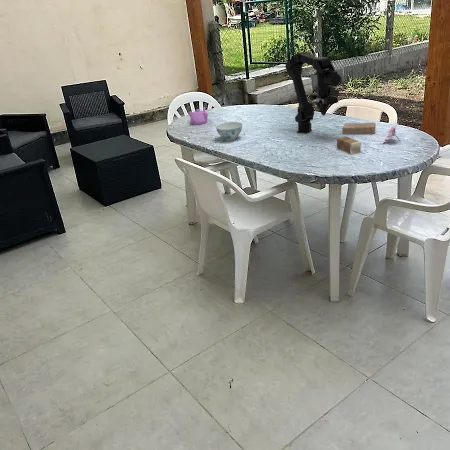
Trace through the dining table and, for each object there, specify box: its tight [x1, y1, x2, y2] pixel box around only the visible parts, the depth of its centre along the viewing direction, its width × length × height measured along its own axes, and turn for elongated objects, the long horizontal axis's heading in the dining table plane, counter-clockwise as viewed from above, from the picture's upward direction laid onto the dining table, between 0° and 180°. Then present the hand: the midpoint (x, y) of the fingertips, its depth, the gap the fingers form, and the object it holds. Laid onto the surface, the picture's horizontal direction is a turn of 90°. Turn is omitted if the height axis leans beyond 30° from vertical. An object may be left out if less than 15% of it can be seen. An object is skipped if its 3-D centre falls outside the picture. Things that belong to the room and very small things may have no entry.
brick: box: [341, 122, 377, 135], centre depth 238 cm, size 17×8×5 cm, turn 70°
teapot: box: [188, 106, 209, 126], centre depth 292 cm, size 12×14×9 cm
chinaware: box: [215, 121, 243, 142], centre depth 252 cm, size 15×15×8 cm
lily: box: [381, 121, 401, 145], centre depth 218 cm, size 12×12×10 cm
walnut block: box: [336, 135, 362, 155], centre depth 214 cm, size 5×5×12 cm
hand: (323, 115), depth 231 cm, fingers closed
